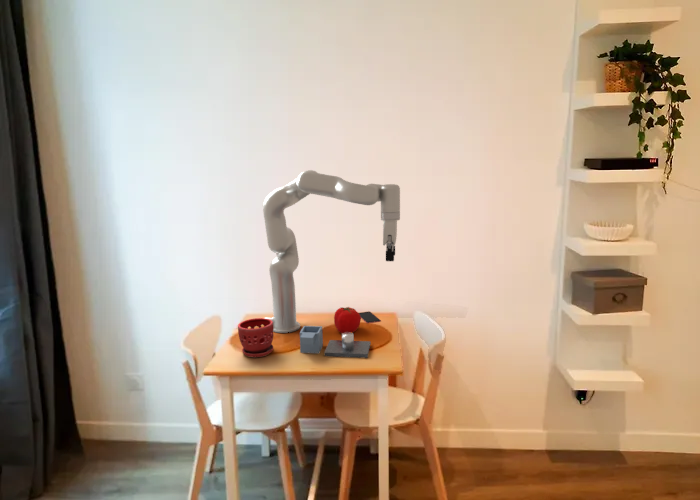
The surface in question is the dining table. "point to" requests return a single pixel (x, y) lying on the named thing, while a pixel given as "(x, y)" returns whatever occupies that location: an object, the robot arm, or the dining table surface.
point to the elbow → (311, 339)
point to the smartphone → (369, 317)
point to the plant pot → (256, 337)
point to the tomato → (347, 319)
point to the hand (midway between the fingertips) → (390, 258)
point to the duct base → (352, 352)
